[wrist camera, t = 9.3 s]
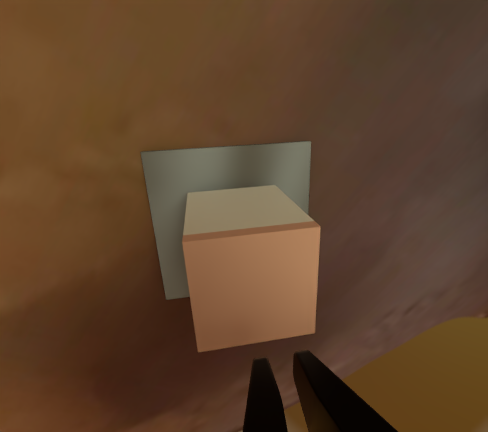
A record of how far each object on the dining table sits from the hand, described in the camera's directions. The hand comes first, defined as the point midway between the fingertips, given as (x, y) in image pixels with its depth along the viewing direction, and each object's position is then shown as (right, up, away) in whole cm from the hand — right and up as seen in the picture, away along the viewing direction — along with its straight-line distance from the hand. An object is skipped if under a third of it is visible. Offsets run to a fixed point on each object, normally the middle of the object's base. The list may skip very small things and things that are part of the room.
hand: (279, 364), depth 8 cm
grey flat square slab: (-2, +4, +10) cm, 11 cm away
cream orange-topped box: (-2, +4, +9) cm, 10 cm away
